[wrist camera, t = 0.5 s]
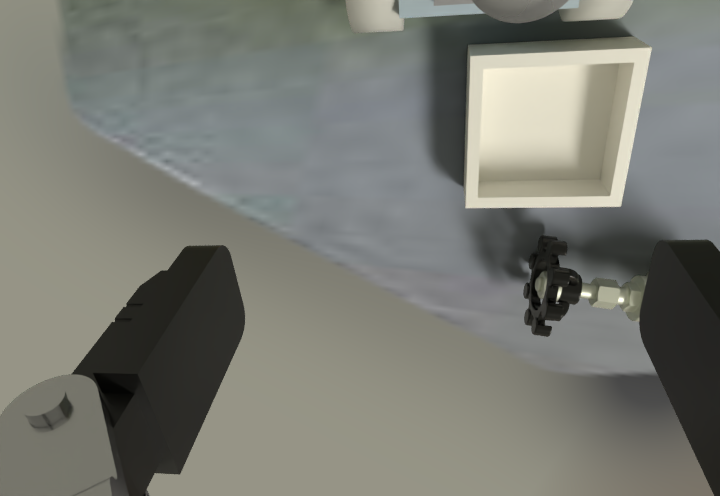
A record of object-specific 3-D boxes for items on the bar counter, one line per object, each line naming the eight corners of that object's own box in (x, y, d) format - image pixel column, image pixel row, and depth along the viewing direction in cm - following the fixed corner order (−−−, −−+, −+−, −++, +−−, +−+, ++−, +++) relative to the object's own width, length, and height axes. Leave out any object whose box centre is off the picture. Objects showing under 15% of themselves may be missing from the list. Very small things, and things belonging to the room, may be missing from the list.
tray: (467, 44, 31) (470, 56, 29) (633, 36, 30) (651, 47, 27) (463, 187, 36) (465, 208, 33) (607, 185, 35) (620, 206, 32)
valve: (725, 240, 36) (542, 215, 36) (779, 301, 30) (561, 270, 31) (684, 318, 39) (518, 294, 40) (726, 385, 34) (531, 356, 34)
